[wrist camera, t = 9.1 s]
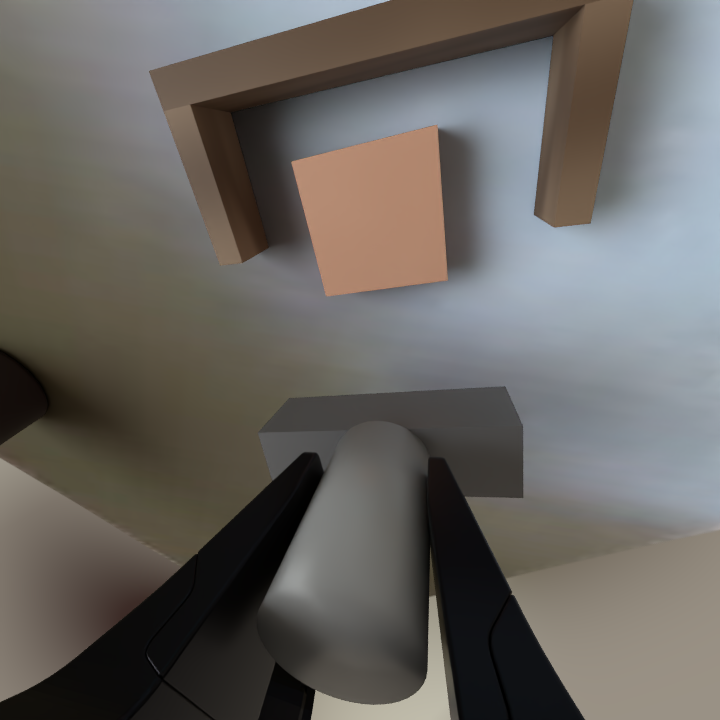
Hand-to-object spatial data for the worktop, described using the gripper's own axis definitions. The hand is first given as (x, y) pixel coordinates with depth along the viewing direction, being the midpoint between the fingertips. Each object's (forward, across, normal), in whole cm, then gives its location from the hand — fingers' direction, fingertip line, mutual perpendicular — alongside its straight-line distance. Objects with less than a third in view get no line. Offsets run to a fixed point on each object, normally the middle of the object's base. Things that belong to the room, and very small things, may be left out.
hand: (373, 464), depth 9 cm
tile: (+9, 0, -5) cm, 10 cm away
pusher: (+3, 0, +2) cm, 4 cm away
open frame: (+8, 0, -7) cm, 11 cm away
